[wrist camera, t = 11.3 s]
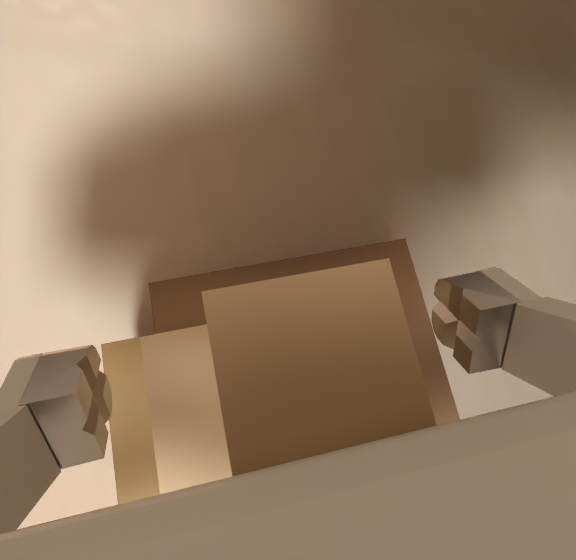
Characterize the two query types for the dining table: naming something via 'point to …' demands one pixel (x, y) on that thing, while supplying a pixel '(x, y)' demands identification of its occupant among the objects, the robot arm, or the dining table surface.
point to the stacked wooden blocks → (265, 380)
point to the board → (187, 290)
